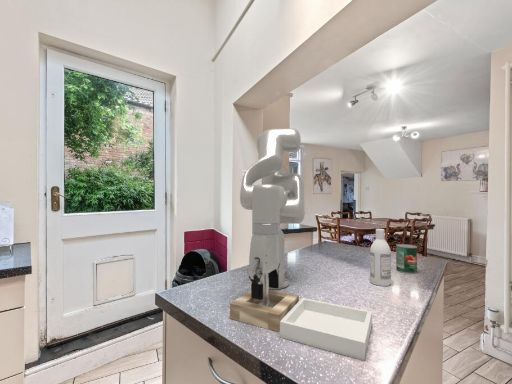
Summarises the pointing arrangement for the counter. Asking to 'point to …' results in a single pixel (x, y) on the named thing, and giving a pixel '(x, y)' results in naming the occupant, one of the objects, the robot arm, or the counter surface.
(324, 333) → the tray
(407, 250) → the canned tomato
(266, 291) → the screw
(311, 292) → the counter surface
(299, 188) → the robot arm
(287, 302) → the holder
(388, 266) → the bath foam
